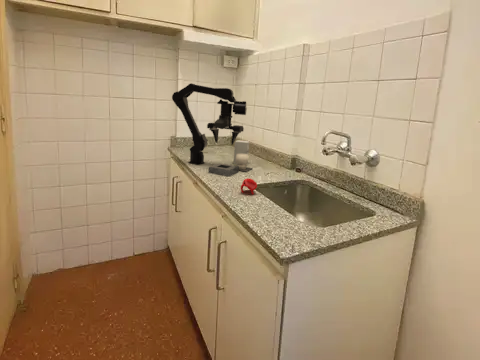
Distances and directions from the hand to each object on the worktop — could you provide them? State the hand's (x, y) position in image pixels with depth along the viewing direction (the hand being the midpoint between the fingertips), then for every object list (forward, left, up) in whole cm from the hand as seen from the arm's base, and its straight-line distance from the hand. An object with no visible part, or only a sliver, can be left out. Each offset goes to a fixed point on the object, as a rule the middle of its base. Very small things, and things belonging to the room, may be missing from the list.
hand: (224, 143), depth 165 cm
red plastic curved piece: (+29, -37, -12) cm, 49 cm away
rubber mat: (+11, -1, -12) cm, 17 cm away
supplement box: (+5, +13, -12) cm, 19 cm away
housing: (+7, -13, -12) cm, 19 cm away
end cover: (+11, -1, -12) cm, 16 cm away
